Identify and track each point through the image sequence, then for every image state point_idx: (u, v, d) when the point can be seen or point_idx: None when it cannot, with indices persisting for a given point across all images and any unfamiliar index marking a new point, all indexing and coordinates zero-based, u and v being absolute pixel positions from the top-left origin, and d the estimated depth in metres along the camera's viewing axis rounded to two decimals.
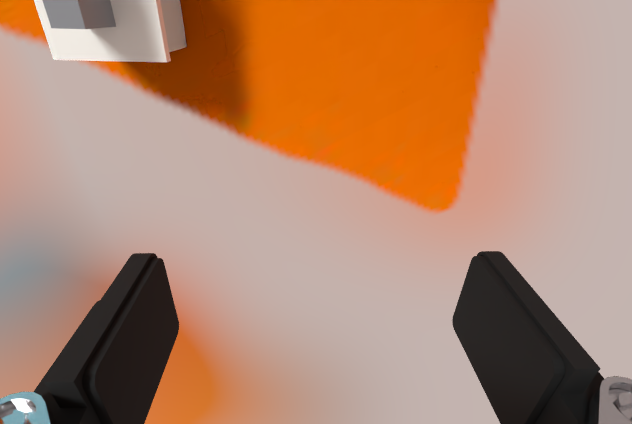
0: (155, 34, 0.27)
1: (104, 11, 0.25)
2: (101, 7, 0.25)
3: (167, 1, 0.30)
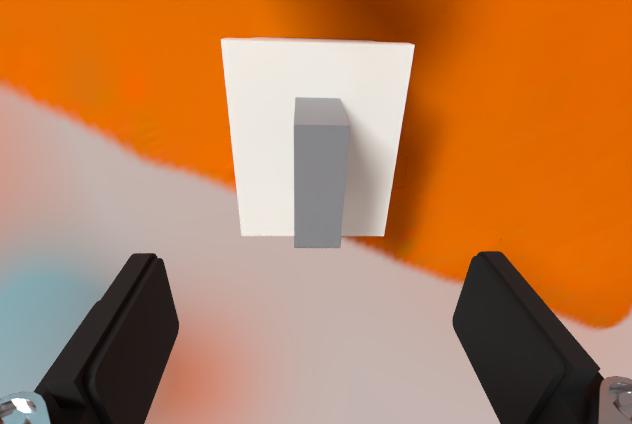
0: (380, 208, 0.21)
1: None
2: None
3: None
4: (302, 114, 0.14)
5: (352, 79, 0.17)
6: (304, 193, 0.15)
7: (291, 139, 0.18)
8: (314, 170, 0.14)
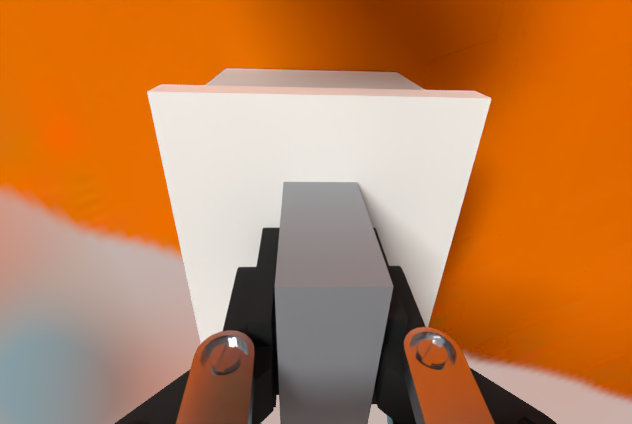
0: None
1: None
2: None
3: None
4: (293, 243, 0.07)
5: (380, 153, 0.10)
6: (299, 386, 0.08)
7: None
8: (318, 355, 0.07)
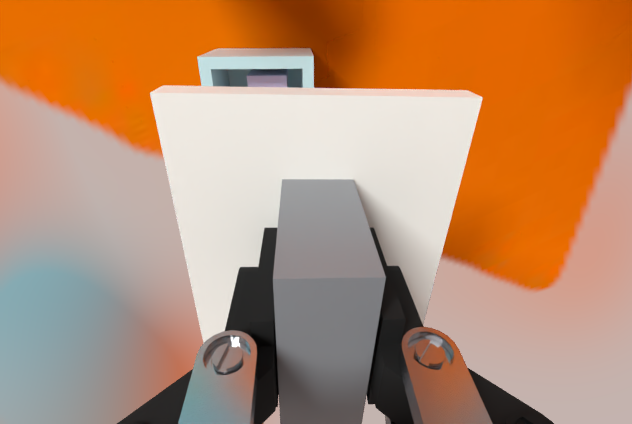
0: None
1: None
2: None
3: None
4: (291, 238, 0.08)
5: (375, 151, 0.10)
6: (297, 375, 0.08)
7: None
8: (315, 344, 0.08)
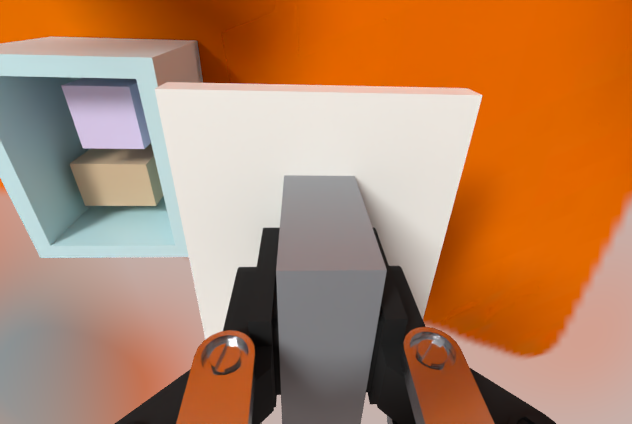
0: None
1: None
2: None
3: None
4: (293, 232, 0.08)
5: (376, 148, 0.10)
6: (299, 367, 0.08)
7: None
8: (316, 336, 0.08)
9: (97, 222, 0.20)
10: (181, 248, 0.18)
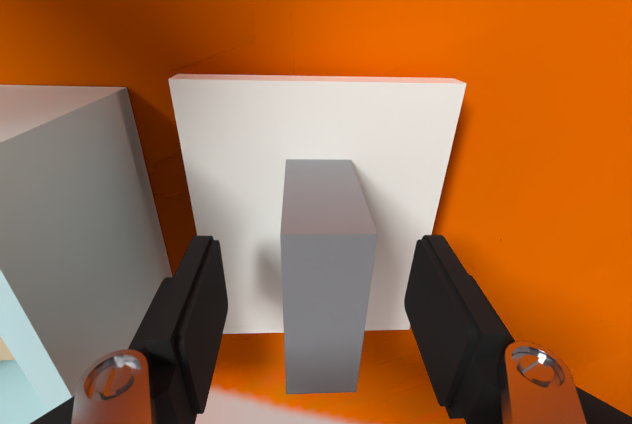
0: None
1: None
2: None
3: (124, 299, 0.12)
4: (295, 205, 0.09)
5: (370, 133, 0.11)
6: (300, 327, 0.09)
7: (281, 215, 0.13)
8: (316, 297, 0.09)
9: None
10: None
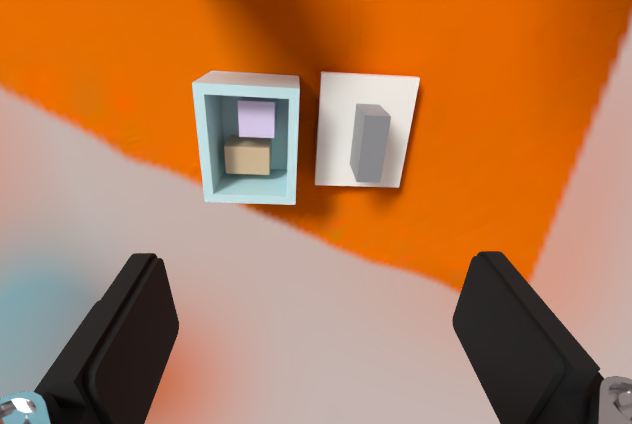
0: (397, 169, 0.35)
1: None
2: None
3: None
4: (365, 111, 0.29)
5: (387, 94, 0.32)
6: (365, 150, 0.30)
7: (351, 126, 0.33)
8: (371, 138, 0.29)
9: (232, 184, 0.32)
10: (289, 198, 0.30)
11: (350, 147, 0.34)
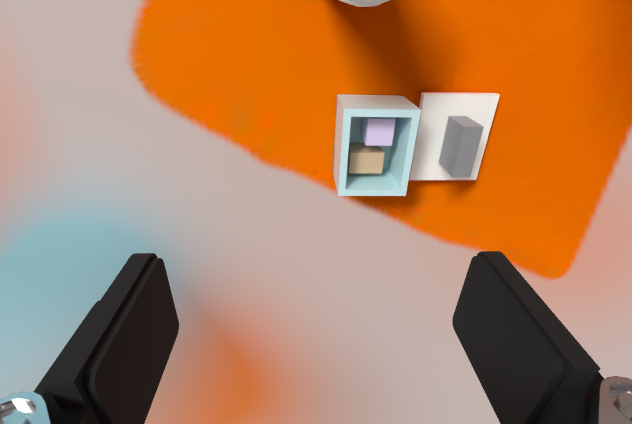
0: (476, 165, 0.45)
1: None
2: None
3: None
4: (461, 123, 0.38)
5: (473, 108, 0.41)
6: (461, 153, 0.39)
7: (442, 133, 0.42)
8: (467, 143, 0.38)
9: (354, 181, 0.41)
10: (402, 191, 0.40)
11: (440, 149, 0.43)
